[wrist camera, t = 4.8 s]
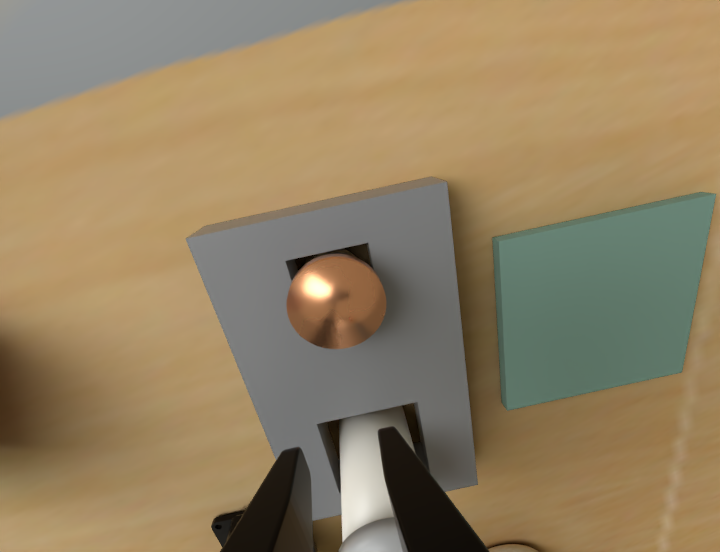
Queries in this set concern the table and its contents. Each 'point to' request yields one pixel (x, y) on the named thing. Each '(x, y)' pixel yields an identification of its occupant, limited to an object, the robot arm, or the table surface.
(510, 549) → the stacking toy
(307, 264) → the button
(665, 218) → the rubber mat
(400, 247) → the grey board with holes
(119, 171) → the table surface
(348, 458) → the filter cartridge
